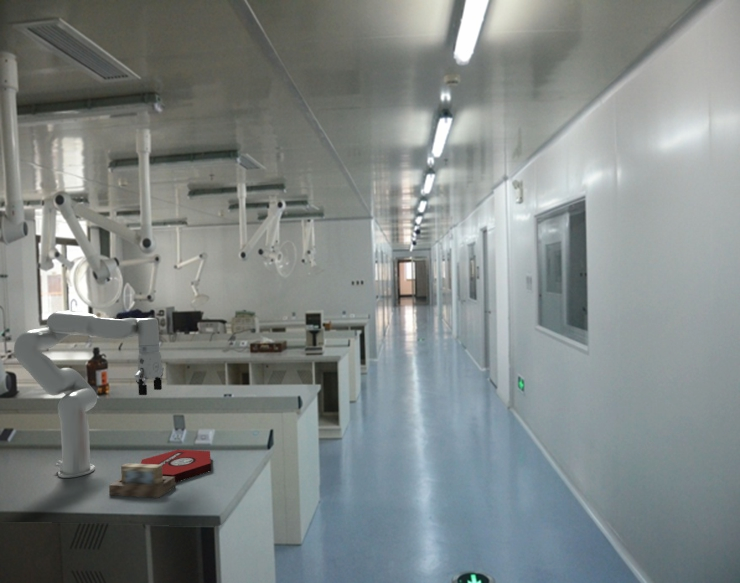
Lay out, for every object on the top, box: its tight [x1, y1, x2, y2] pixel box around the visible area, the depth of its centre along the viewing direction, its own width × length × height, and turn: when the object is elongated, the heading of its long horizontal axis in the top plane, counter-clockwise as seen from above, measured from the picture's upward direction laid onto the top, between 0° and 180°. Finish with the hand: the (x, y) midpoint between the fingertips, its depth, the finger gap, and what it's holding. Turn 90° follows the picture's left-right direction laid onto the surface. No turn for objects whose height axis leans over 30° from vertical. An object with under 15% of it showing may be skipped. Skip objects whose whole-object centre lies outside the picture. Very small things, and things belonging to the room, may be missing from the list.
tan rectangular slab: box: [120, 462, 163, 484], centre depth 182 cm, size 14×3×8 cm, turn 79°
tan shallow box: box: [108, 476, 176, 499], centre depth 182 cm, size 19×10×4 cm, turn 79°
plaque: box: [140, 449, 212, 483], centre depth 203 cm, size 27×4×30 cm
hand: (150, 392), depth 204 cm, fingers open, 9 cm apart
